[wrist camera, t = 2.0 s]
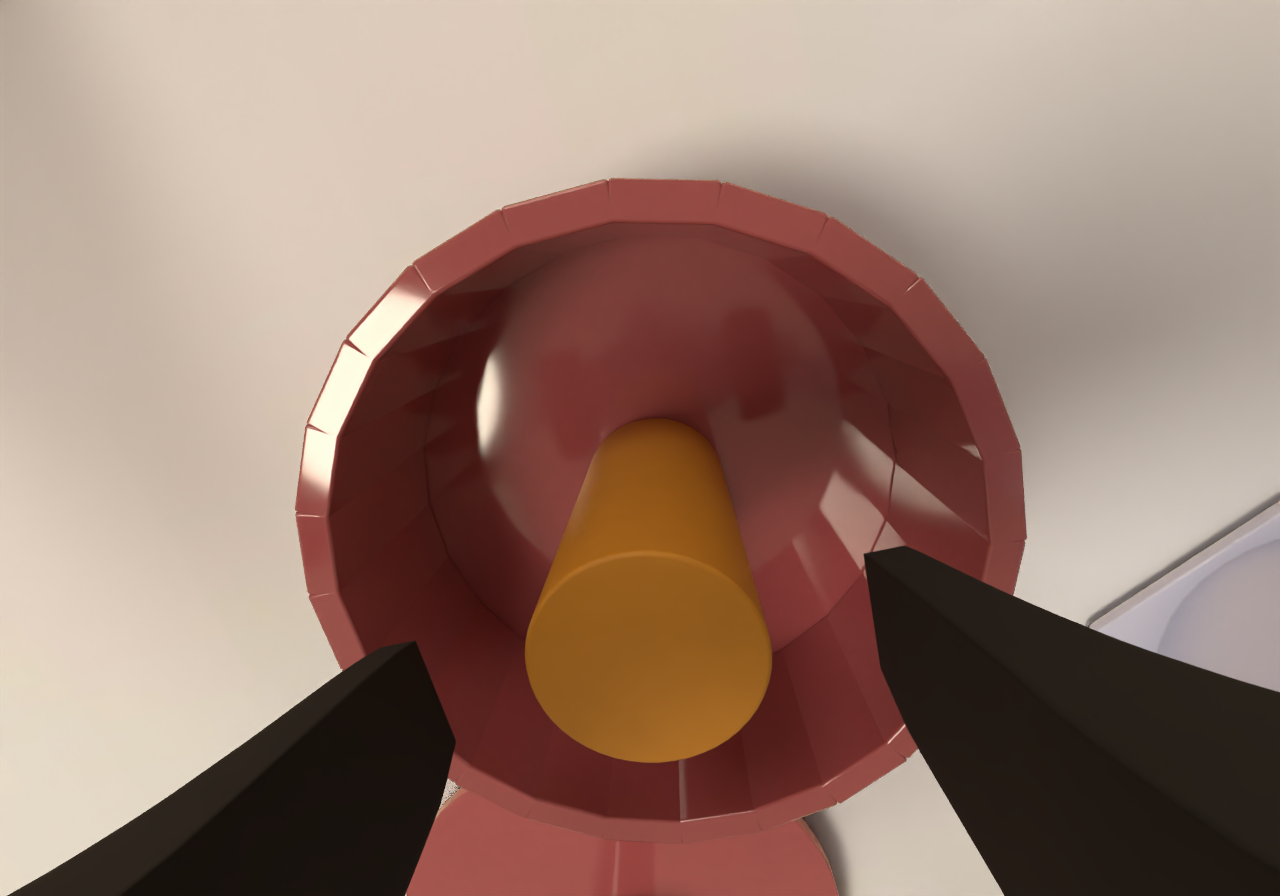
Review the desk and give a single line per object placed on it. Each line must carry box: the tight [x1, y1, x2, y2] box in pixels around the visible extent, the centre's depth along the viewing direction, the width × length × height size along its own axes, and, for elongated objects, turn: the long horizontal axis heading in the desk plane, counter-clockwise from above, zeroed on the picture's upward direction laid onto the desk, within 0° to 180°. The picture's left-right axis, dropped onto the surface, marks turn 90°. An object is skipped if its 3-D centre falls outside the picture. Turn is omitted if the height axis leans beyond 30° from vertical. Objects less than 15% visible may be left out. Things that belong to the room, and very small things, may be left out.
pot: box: [295, 178, 1027, 844], centre depth 15 cm, size 14×14×5 cm
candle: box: [525, 418, 772, 763], centre depth 13 cm, size 4×4×8 cm
